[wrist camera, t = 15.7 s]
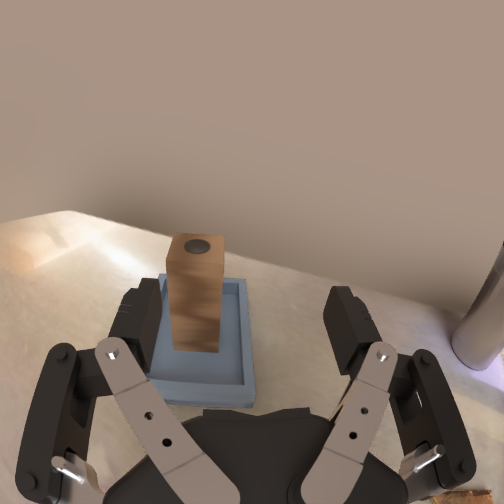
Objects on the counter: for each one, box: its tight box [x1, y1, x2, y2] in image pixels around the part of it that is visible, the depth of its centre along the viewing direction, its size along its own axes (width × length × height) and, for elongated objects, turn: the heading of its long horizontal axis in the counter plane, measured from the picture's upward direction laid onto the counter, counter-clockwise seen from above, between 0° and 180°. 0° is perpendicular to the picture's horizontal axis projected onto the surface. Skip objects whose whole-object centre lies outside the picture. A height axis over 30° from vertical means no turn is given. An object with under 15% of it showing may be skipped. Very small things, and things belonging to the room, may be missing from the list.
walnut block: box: [166, 233, 225, 353], centre depth 29 cm, size 5×5×12 cm
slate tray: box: [144, 274, 256, 408], centre depth 32 cm, size 12×18×3 cm, turn 4°
